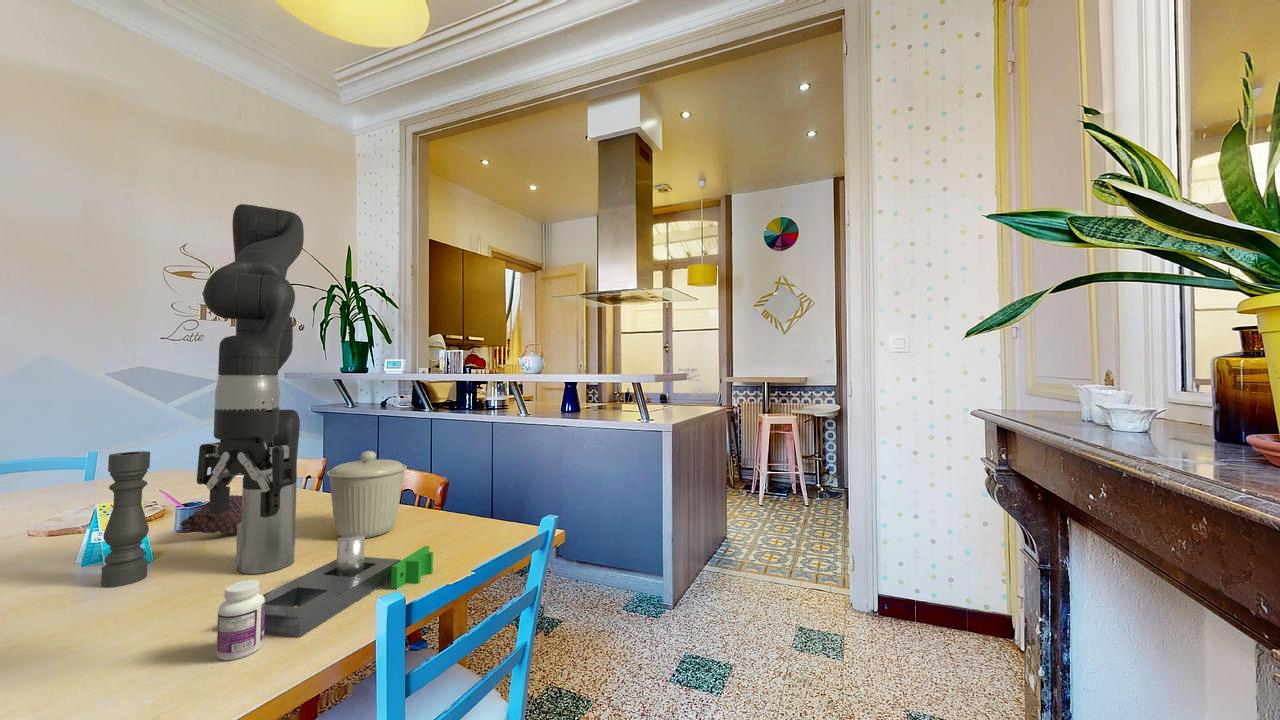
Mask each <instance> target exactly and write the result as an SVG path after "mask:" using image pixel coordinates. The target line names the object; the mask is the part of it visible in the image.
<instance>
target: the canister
mask: <svg viewBox="0 0 1280 720" xmlns="http://www.w3.org/2000/svg"><path fill="white" fill-rule="evenodd" d="M406 470H407V465H406V464H402V462H400V461H398V460H396V459H395V460H393V459H377V454H376V452H374V451H373V450H367V451H363V452H362V453H361V455H360V460H356V461H348V462H344V463H340V464H338V465H336V466H334V467H333V468H332V469H329V470H328V471H326V475H327V476H328V477H329V485H330V495H331V504H332V514H333V521H334V528H335V530H336V533H337V534H338V535H339V537H343V536H346V535H352V534H363V535H365V539H367V538H374V537H377V535H378V536H381V535H383V534H386V533H387V532H390V531H392V529H393V528H394V527H395V524H396V522H397V519H398V515H399V508H400V501H401V496H402V488H403V487H402V486H403V480H404V471H406Z"/></svg>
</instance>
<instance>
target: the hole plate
mask: <svg viewBox="0 0 1280 720" xmlns="http://www.w3.org/2000/svg"><path fill="white" fill-rule="evenodd" d="M400 561H401V559H398V558H397V559H395V558H385V557H384V558H383V557H371V556H364V571H363V572H361V573H359V574H357V575H356V576H354V577H346V576H336V574H337V558H336V559H335V560H332V561H330V562H328V563H326V564H324V565H321V566H320V567H317V568H315V569H314V570H311V571H309V572H307V573H305V574H303V575H301V576H299V577H296V578H294V579H293V580H290V581H288V582H287V583H284V584H282V585H281V586H278V587H276V588H274V589H272V590H270V591H268V592H266V593H264V594H262V595H263V596H264V599H265V617H264V635H265V634H266V635H275V636H284V637H293V638H294V637H295V638H301V637H303V636H304V635H305V634H307V633H309V632H311V631H312V630H314V629H316V628H317V627H318V626H320V625H322V624H323V623H325V622H327V621H328V620H330V619H332V618H333V617H335V616H336V615H338V614H339V613H341V612H343V611H344V610H346V609H348V608H349V607H350V606H352V605H353V604H355V603H357V602H358V601H360V600H362V599H364V598H365V597H366V596H368V595H369V594H371V593H373V592H374V590H375V589H376V590H377V588H378V587H379V588H381V587H383V586H384V585H386V584H387V583H389V582H391V574H392V566H393V565H395V564H397V563H398V562H400ZM385 583H386V584H385ZM380 586H381V587H380ZM379 588H378V589H379ZM376 590H375V591H376ZM372 591H373V592H372ZM296 605H299V606H298V607H296ZM294 606H295V607H294Z"/></svg>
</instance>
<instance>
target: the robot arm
mask: <svg viewBox="0 0 1280 720" xmlns="http://www.w3.org/2000/svg"><path fill="white" fill-rule="evenodd" d="M304 236H305V232H304V223H303V221H302V219H301V217H300V216H299V215H298V214H296V213H295V212H294V211H293V212H292V211H289V210H284V209H279V208H273V207H266V206H258V205H253V204H247V203H246V204H245V203H243V204H241V203H240V204H238V205H236V207H235V208H234V211H233V213H232V240H233V241H232V242H233V252H234V261H232V262H230V263H228V264H225V265H224V266H221V267H219V269H217V270H215V271H214V272H213V273H212V274H211V275H210V276H209V278H208V279H207V280H206V283H205V285H204V287H203V293H202V294H203V301H204V304H205V307H207V309H208V310H209V311H210V312H211V313H212V314H213V315H215V316H217V317H219V318H222V319H227V320H228V319H229V320H235V335H230V336H229V335H228V336H226V337H224V338H222V339H221V340H220V342H219V348H218V367H217V368H218V370H217V371H218V372H217V373H218V375H217V381H216V386H215V392H214V411H213V414H214V416H213V420H214V421H213V437H214V438H215V439H216V440H220V441H219V442H212V443H211V442H210V443H204V444H201V445H200V446H199V450H198V462H197V473H196V483H197V484H198V485H205V486H206V488H207V490H208V489H209V502H210V503H209V502H208V503H209V507H210V513H211V514H221V513H224V512H227V511H228V510H229V498H230V496H231V495H230V493H231V486H229V485H230V484H231V482H232V480H233V479H234V478H235V476H237V475H239V474H240V475H243V477H242V491H241V492H242V495H241V496H242V522H240V523H239V524H238V525H237V533H236V551H235V552H236V553H235V554H236V556H235V557H236V558H235V570H238V571H239V572H240V573H241V574H245V575H246V574H247V575H258V574H263V573H269V572H270V573H271V572H274V571H278V570H281V569H284V568H287V567H289V566H290V565H292V564H294V562H295V552H296V551H295V550H296V548H295V547H296V520H297V519H296V517H297V515H296V514H297V512H296V511H297V484H298V482H297V481H298V480H297V479H298V477H297V476H298V475H297V474H298V473H297V472H298V471H297V468H298V467H297V466H298V453H299V452H298V451H299V450H298V449H299V440H300V429H301V427H300V426H301V423H300V422H301V420H300V416H299V413H298V412H297V410H294V409H280V398H281V397H280V396H281V395H280V394H281V393H280V392H281V391H280V390H281V389H280V384H279V383H280V382H279V376H278V375H279V371H280V370H281V368H282V367H283V366H284V364H285V363H286V362H287V361H288V359H289V358H290V356H291V354H292V353H293V346H294V345H293V344H294V343H293V341H294V339H293V337H294V335H293V334H294V330H293V329H294V327H293V326H294V324H293V322H294V321H293V319H292V317H291V313H292V311H293V308H294V305H295V302H296V293H295V292H296V291H295V289H294V287H293V285H292V284H291V282H289V280H288V279H286V278H287V272H288V270H289V268H290V267H291V265H292V264H293V263H294V262H295V261H296V260H297V259H298V257H299V256H300V254H301V253H302V250H303V248H304V239H305V237H304ZM209 468H210V473H209V474H208V469H209Z"/></svg>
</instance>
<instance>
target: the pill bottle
mask: <svg viewBox="0 0 1280 720" xmlns="http://www.w3.org/2000/svg"><path fill="white" fill-rule="evenodd" d="M260 586H261V585H260V581H259V580H257V579H249V580H242V581H237V582H234V583H232V584H230V585H228V586H226V587H225V588H224V589H225V590H224V595H223V596H224V597H223V598H224V599H225V601H223V602H222V603H221V604H220V606H219V607H218V611H217V633H216V635H217V637H216V639H217V641H216V642H217V644H216V654H217V655H216V656H217V658H218V659H220V660H222V661H234V660H238V659H242V658H245V657H248V656H250V655H252V654H255V652H258V651H259V650H260V649H261V648H262V647H263V645H264V642H265V634H264V617H265V599H264V596H263V594H262V593H259V592H260V589H261V588H260Z"/></svg>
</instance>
